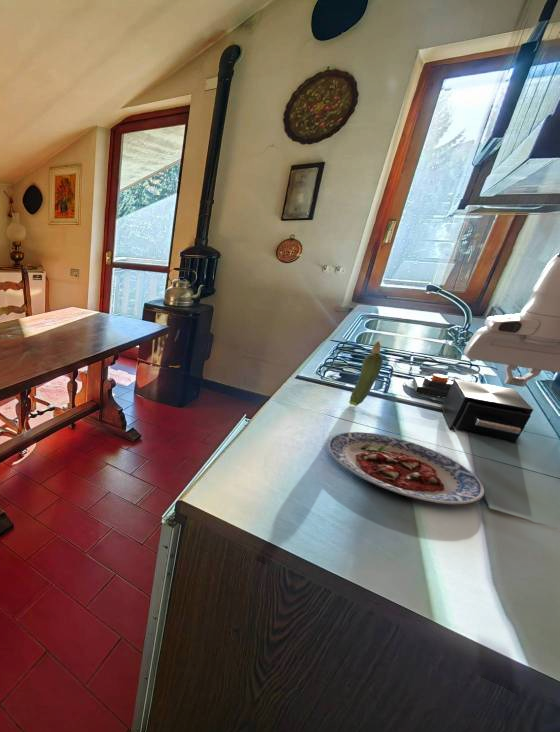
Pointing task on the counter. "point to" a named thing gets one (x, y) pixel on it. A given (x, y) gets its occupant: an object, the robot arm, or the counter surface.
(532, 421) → the counter surface
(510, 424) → the small drawer unit
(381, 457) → the ceramic plate
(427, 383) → the control block
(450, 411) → the cabinet
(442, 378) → the button
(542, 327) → the robot arm
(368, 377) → the vegetable
